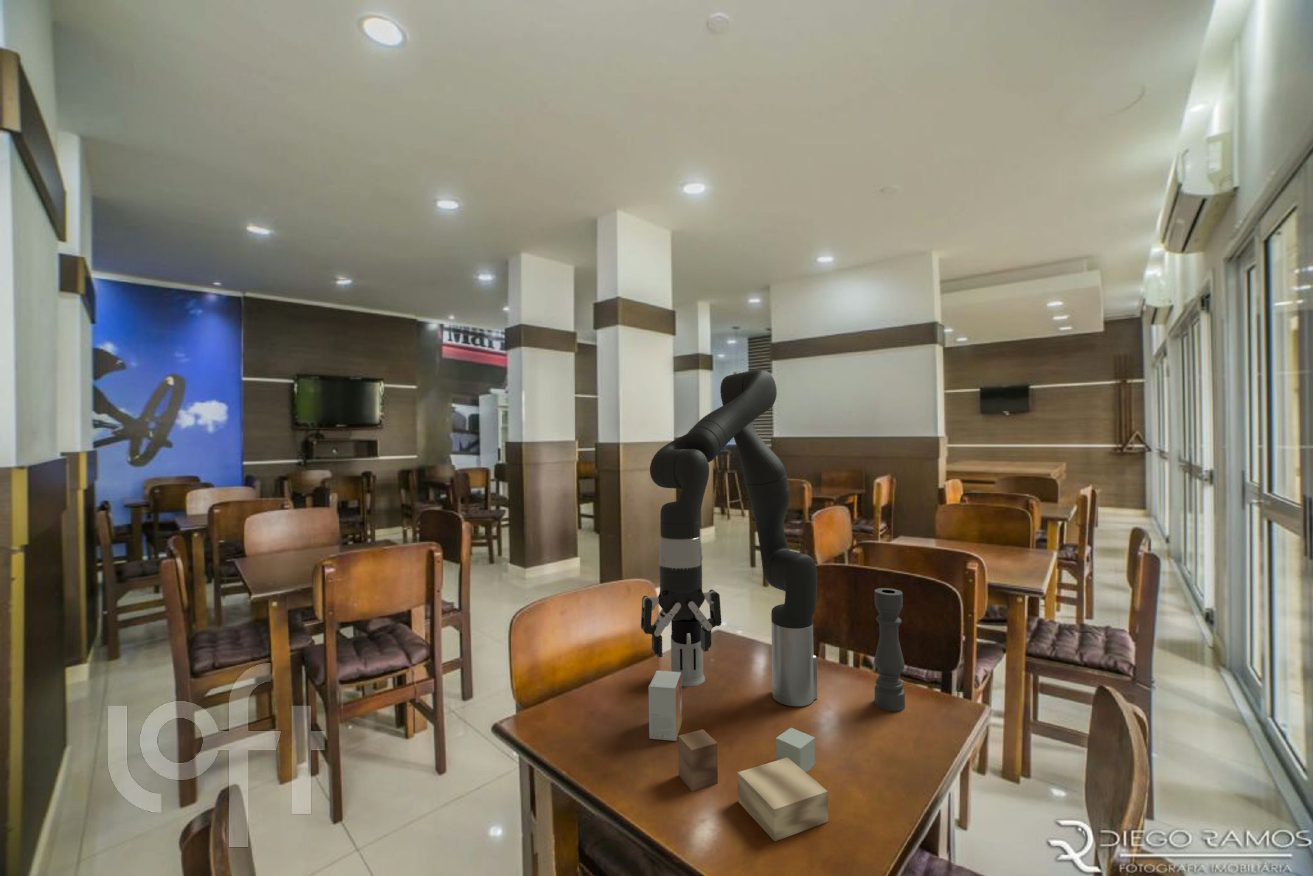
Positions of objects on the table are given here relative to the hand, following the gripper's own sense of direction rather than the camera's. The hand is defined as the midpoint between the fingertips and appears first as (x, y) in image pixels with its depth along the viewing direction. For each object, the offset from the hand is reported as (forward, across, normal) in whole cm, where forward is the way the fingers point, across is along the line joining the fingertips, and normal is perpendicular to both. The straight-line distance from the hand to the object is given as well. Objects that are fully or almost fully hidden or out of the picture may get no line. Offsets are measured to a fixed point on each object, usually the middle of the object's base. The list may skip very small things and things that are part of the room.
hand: (681, 652), depth 98 cm
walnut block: (+22, -2, +2) cm, 22 cm away
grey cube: (+22, -20, +3) cm, 30 cm away
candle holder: (+22, -51, -11) cm, 57 cm away
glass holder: (+22, -12, -34) cm, 42 cm away
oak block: (+22, -12, +14) cm, 28 cm away
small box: (+22, -1, -15) cm, 26 cm away
